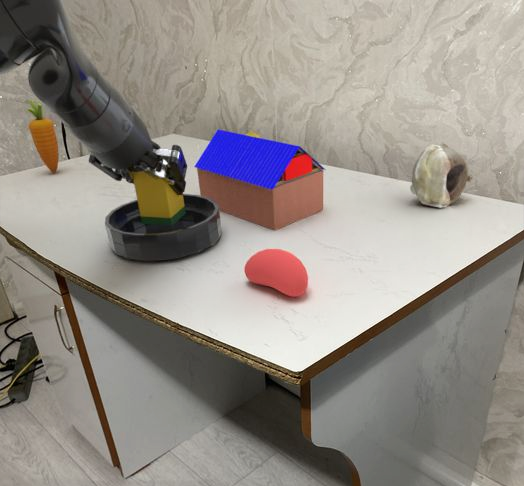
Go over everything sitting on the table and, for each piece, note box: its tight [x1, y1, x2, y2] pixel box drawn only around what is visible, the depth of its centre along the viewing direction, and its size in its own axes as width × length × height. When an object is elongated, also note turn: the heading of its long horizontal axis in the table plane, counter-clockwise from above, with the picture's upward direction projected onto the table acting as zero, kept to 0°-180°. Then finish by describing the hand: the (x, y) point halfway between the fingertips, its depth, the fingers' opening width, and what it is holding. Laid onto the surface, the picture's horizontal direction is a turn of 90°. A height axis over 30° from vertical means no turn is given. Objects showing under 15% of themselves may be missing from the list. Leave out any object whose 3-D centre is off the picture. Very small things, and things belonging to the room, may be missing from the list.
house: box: [194, 129, 327, 231], centre depth 91 cm, size 12×20×12 cm, turn 42°
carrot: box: [26, 99, 60, 173], centre depth 116 cm, size 5×5×15 cm
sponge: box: [133, 168, 186, 226], centre depth 80 cm, size 5×5×8 cm
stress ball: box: [244, 248, 309, 298], centre depth 68 cm, size 5×9×6 cm, turn 36°
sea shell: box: [410, 142, 474, 209], centre depth 88 cm, size 9×8×10 cm
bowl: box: [104, 193, 223, 262], centre depth 83 cm, size 17×17×4 cm
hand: (164, 188), depth 81 cm, fingers closed on sponge, 5 cm apart
